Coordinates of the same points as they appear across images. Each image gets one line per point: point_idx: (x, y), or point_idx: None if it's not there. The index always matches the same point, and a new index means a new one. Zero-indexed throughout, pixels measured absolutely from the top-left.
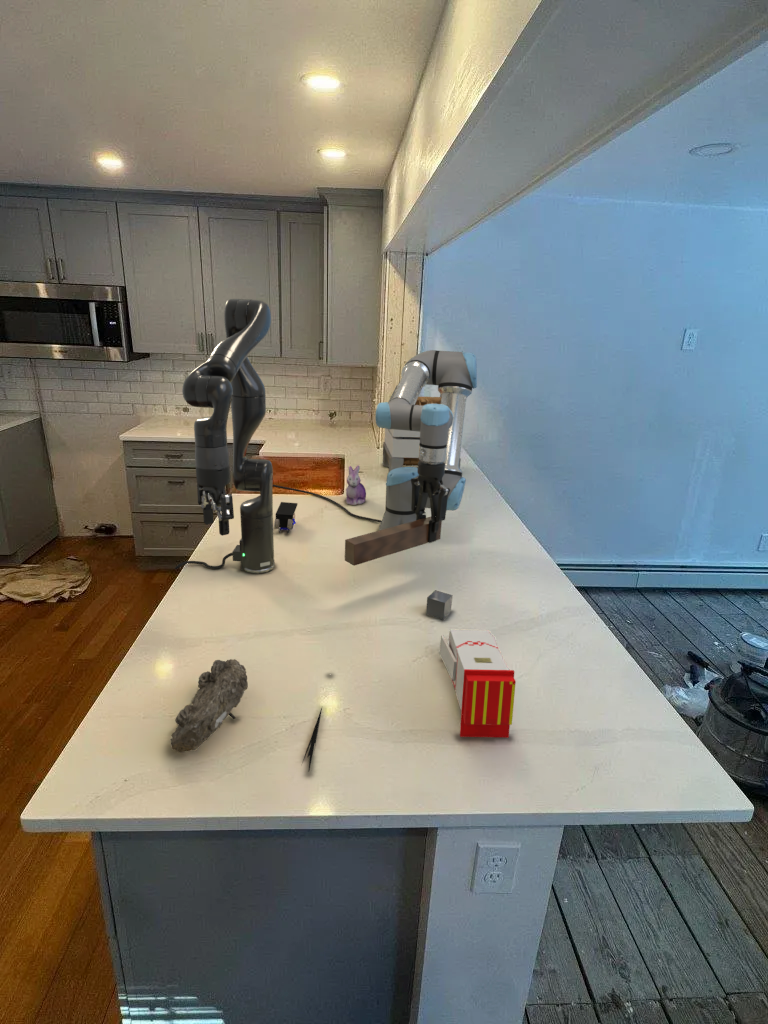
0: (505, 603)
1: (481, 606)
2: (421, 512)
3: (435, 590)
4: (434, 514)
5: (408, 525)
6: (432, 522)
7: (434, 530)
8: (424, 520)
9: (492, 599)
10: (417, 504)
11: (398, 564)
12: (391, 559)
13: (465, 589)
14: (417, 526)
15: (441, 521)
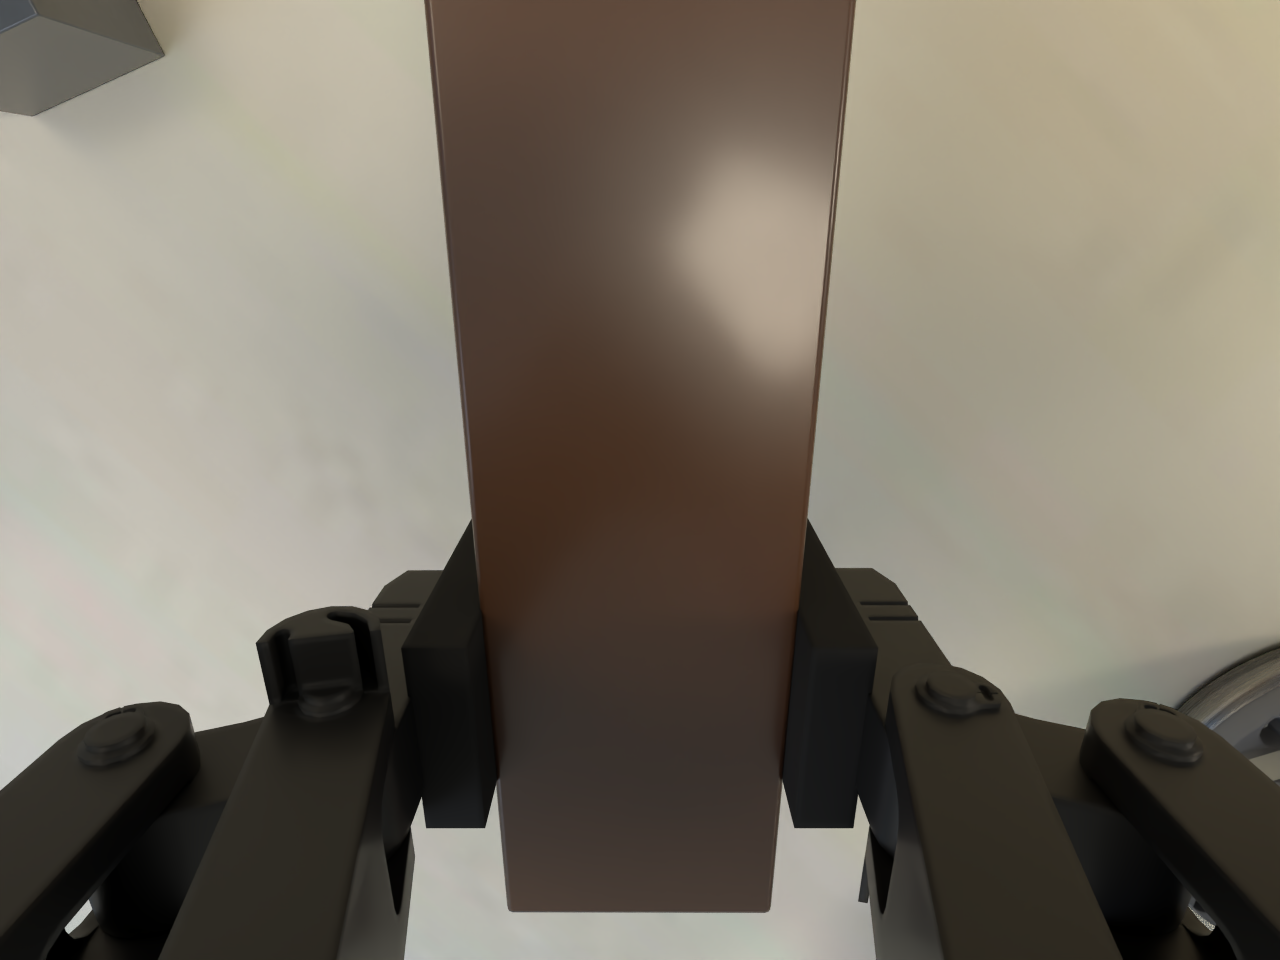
0: (7, 553)
1: (27, 388)
2: (886, 805)
3: (28, 8)
4: (217, 845)
5: (660, 66)
6: (416, 676)
7: (395, 592)
8: (683, 660)
9: (90, 527)
10: (1108, 949)
11: (929, 373)
12: (1037, 391)
13: (298, 488)
14: (464, 244)
15: (510, 883)
